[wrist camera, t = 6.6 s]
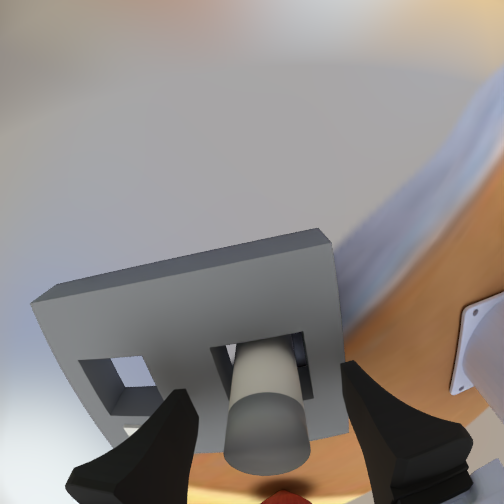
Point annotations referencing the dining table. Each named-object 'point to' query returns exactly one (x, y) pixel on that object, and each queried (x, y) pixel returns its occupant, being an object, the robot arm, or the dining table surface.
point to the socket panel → (200, 331)
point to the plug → (266, 409)
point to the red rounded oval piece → (285, 498)
